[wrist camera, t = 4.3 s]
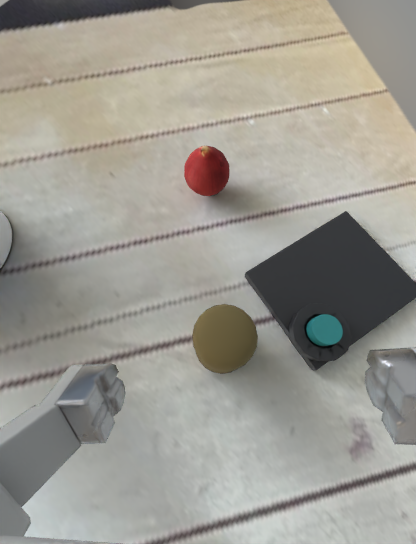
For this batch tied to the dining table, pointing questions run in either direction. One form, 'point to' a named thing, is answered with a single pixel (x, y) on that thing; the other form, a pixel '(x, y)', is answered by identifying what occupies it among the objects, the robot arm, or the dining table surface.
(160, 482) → the dining table surface
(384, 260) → the scale
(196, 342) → the cork
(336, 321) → the button
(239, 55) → the dining table surface
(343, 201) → the dining table surface
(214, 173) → the onion
